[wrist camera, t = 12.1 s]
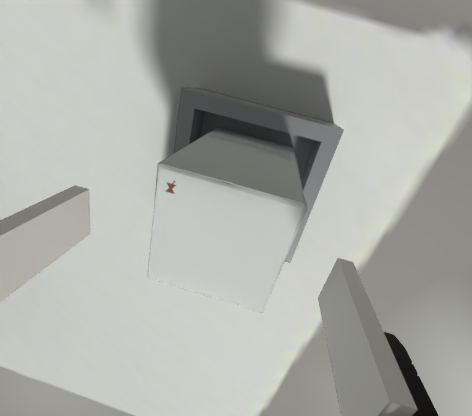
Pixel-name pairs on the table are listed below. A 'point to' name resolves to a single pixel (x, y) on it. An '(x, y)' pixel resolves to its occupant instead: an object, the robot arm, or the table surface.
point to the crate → (262, 135)
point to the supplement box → (226, 217)
